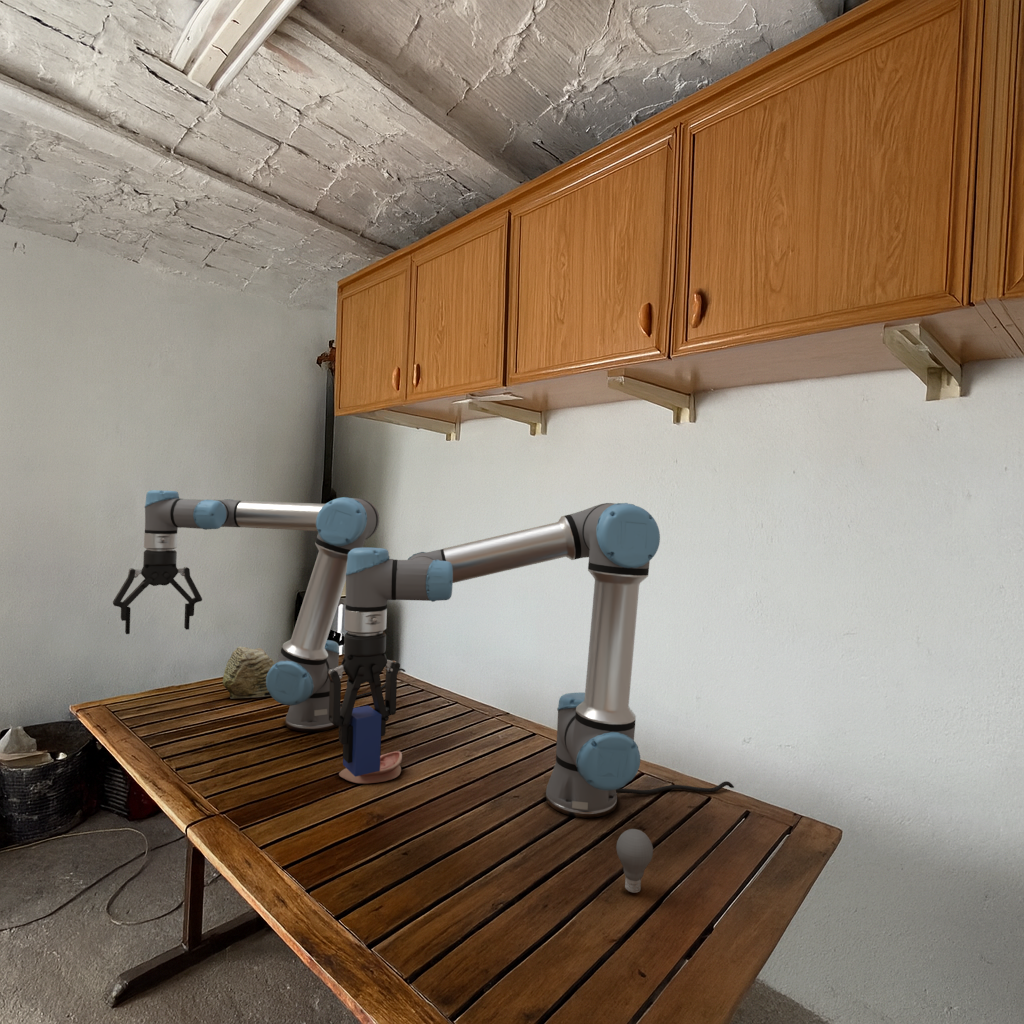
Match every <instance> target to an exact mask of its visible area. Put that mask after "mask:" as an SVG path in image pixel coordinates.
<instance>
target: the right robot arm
mask: <svg viewBox="0 0 1024 1024" xmlns="http://www.w3.org/2000/svg"><path fill="white" fill-rule="evenodd" d="M660 543H661V534H660V528H659V526H658V523H657V521H656V519H655V518H654V517H653V515H652V514H650V512H649V511H648V510H646V509H645V508H644V507H641V506H639V505H635V504H633V503H628V502H617V503H615V502H604V503H599V504H597V505H594V506H592V507H588V508H586V509H583V510H579V511H576V512H573V513H570V514H565V515H562V516H560V518H559V519H558V521H557V522H553V523H547V524H544V525H539V526H534V527H530V528H527V529H522V530H518V531H514V532H509V533H505V534H504V533H503V534H501V535H496V536H491V537H487V538H483V539H478V540H475V541H470V542H465V543H462V544H461V543H460V544H457V545H453V546H449V547H443V548H442V549H441V548H440V549H435V550H432V551H431V550H430V551H420V552H417V553H414V554H412V555H411V556H409V557H408V559H394V558H390V555H389V550H388V549H387V548H382V547H363V548H354V549H352V550H351V551H350V552H349V553H348V558H347V571H346V581H345V608H344V609H345V610H344V630H345V631H346V632H345V633H344V636H343V637H344V639H343V640H344V641H343V654H344V655H343V659H342V661H341V663H340V665H338V667H336V668H334V669H332V668H329V669H328V670H327V674H328V677H329V680H330V693H329V721H330V722H331V723H332V724H334V725H335V726H337V725H339V726H337V727H338V741H339V743H340V745H342V760H343V759H344V760H345V761H347V762H348V763H351V762H352V750H353V726H352V725H350V724H349V723H350V719H351V716H352V712H353V708H355V704H356V700H357V698H356V696H357V695H358V693H359V690H360V689H361V685H362V684H364V683H368V684H369V689H370V692H371V693H372V694H371V698H372V703H373V708H374V710H376V711H377V712H378V713H380V714H381V737H385V735H386V730H387V721H389V718H390V716H394V715H396V713H397V694H398V693H397V688H398V685H397V684H398V673H399V672H400V671H399V669H400V668H401V664H400V663H399V662H398V661H396V660H393V659H391V660H390V659H388V658H387V655H386V650H387V634H386V632H385V630H387V620H388V619H387V617H388V616H387V615H388V601H421V602H422V601H427V602H428V601H430V602H432V603H433V602H438V601H449V600H451V598H452V595H453V584H455V583H461V582H464V581H468V580H473V579H476V578H481V577H485V576H489V575H494V574H498V573H503V572H507V571H511V570H515V569H520V568H524V567H528V566H533V565H537V564H541V563H546V562H549V561H554V560H559V559H562V558H567V559H569V560H571V561H574V560H575V561H576V560H579V559H584V558H588V564H587V571H588V572H589V574H590V575H591V576H592V577H593V579H594V585H593V587H594V588H593V597H592V608H591V609H592V610H591V619H590V620H591V621H590V622H591V623H590V632H589V643H588V656H587V665H586V678H585V690H584V692H567V693H565V694H562V695H561V696H560V697H559V699H558V707H557V708H556V709H557V724H556V725H557V728H556V747H555V748H556V750H555V762H554V763H555V764H554V766H553V769H552V772H551V775H550V777H549V780H548V782H547V784H546V789H545V799H546V800H545V801H546V802H547V804H548V805H549V806H550V807H551V808H552V809H554V810H555V811H557V812H559V813H562V814H564V815H567V816H571V817H576V818H586V819H587V818H589V819H591V818H599V817H603V816H607V815H609V814H611V813H613V812H614V811H615V810H616V808H617V803H618V796H617V795H618V794H632V795H652V794H657V793H661V792H665V791H669V790H670V791H671V790H685V791H691V792H698V793H715V792H719V791H720V790H722V789H723V788H725V787H726V786H727V787H729V788H731V789H734V788H735V786H734V785H733V784H732V783H731V782H730V781H729V780H728V781H722V782H721V783H719V784H718V785H716V786H714V787H697V786H691V785H682V784H671V785H664V786H659V787H656V788H650V789H634V788H633V789H632V788H624V787H625V786H627V784H629V783H630V782H631V781H633V780H634V779H635V777H636V776H637V773H638V771H639V770H640V765H641V753H640V750H639V746H638V744H637V743H636V741H635V734H636V733H635V732H636V719H637V715H636V713H635V712H634V711H633V710H632V709H631V707H630V695H631V686H632V673H633V662H634V651H635V640H636V628H637V619H638V617H637V616H638V604H639V594H640V585H641V583H642V582H643V581H645V580H646V579H647V578H648V577H649V571H650V562H651V560H652V559H653V558H654V557H655V556H656V554H657V552H658V550H659V547H660ZM383 670H385V683H384V684H385V687H384V695H383V690H382V689H383V688H382V689H381V687H382V681H381V680H382V679H381V673H382V672H383ZM343 673H345V674H346V676H347V679H346V680H347V681H346V689H345V693H344V697H343V700H342V698H341V697H342V681H341V679H343ZM341 700H342V701H341ZM342 703H343V704H342ZM340 704H342V706H341V711H340ZM381 755H382V746H381V747H380V756H381Z"/></svg>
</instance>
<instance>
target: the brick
mask: <svg viewBox="0 0 1024 1024" xmlns="http://www.w3.org/2000/svg"><path fill="white" fill-rule="evenodd" d="M349 724H350V725H352V726H353V750H352V762H351V763H348V762H347V761H345V760H344V759H343V758H342V765H343V767H345V768H347V769H348V770H349V771H350V772H351V773H352V774H353V775H354V776H355V777H356V776H360V775H364V774H368V773H373V772H377V771H380V747H381V748H382V736H381V714H380V713H378V712H377V711H376V710H375V708H374V707H372V706H370V705H364V706H357V707H354V708H353V712H352V716H351V719H350V723H349Z"/></svg>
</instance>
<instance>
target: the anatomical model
mask: <svg viewBox="0 0 1024 1024" xmlns="http://www.w3.org/2000/svg"><path fill="white" fill-rule="evenodd" d="M402 761H403V754H402V751H399V750H397V751H391V752H387V753H384V754H381V756H380V771H377V772H373V773H368V774H364V775H360V776H356V777H355V776H354V775H353V774H352V773H351V772H350V771H349V770H348V769H347V768H346V767H345V768H343V769H342V770H341V771H340V772H339V773H338V776H339V777H340V778H342V779H344V780H346V781H347V782H350V783H352V784H353V783H354V784H375V783H383V782H387V781H391V780H393V779H396V778H398V777H399V776H400V774H401V772H402V767H401V763H402Z"/></svg>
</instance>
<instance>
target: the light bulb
mask: <svg viewBox="0 0 1024 1024" xmlns="http://www.w3.org/2000/svg"><path fill="white" fill-rule="evenodd" d="M615 849H616V854H617V857H618V859H619V861H620V863H621V865H622V867H623V873H624V874H623V875H624V876H625V878H624V888H625V890H627V891H628V892H630V893H634V894H635V893H639V892H640V891H641V889H642V887H641V886H642V879H643V877H644V875H645V871H646V868H647V867H648V866H649V864H650V863H651V861H652V859H653V855H654V847H653V843H652V841H651V838H649V836H648V835H647V834H646V833H645V832H643V831H642V830H641V829H636V828H629V829H627V830H625V831H623V832H622V833H621V834H620V835H619V837H618V839H617V841H616V847H615Z"/></svg>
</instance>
